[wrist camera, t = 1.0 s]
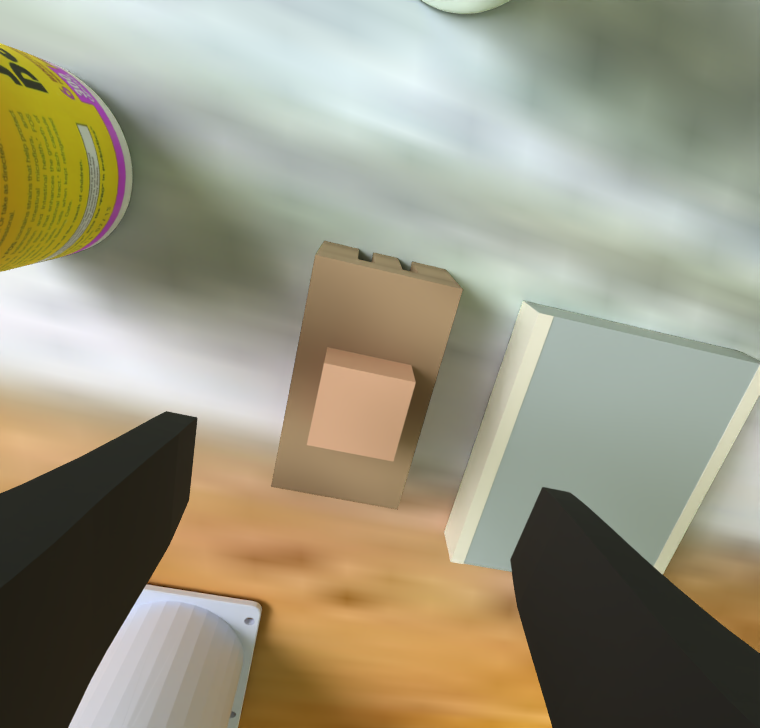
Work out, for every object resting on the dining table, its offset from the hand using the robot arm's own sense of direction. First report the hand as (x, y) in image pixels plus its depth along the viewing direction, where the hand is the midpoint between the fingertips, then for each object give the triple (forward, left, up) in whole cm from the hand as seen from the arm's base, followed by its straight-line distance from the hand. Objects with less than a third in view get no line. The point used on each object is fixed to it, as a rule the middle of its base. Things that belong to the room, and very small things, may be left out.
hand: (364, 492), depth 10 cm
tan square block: (-1, 0, -8) cm, 8 cm away
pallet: (-1, 0, -12) cm, 12 cm away
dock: (-3, -11, -12) cm, 16 cm away
